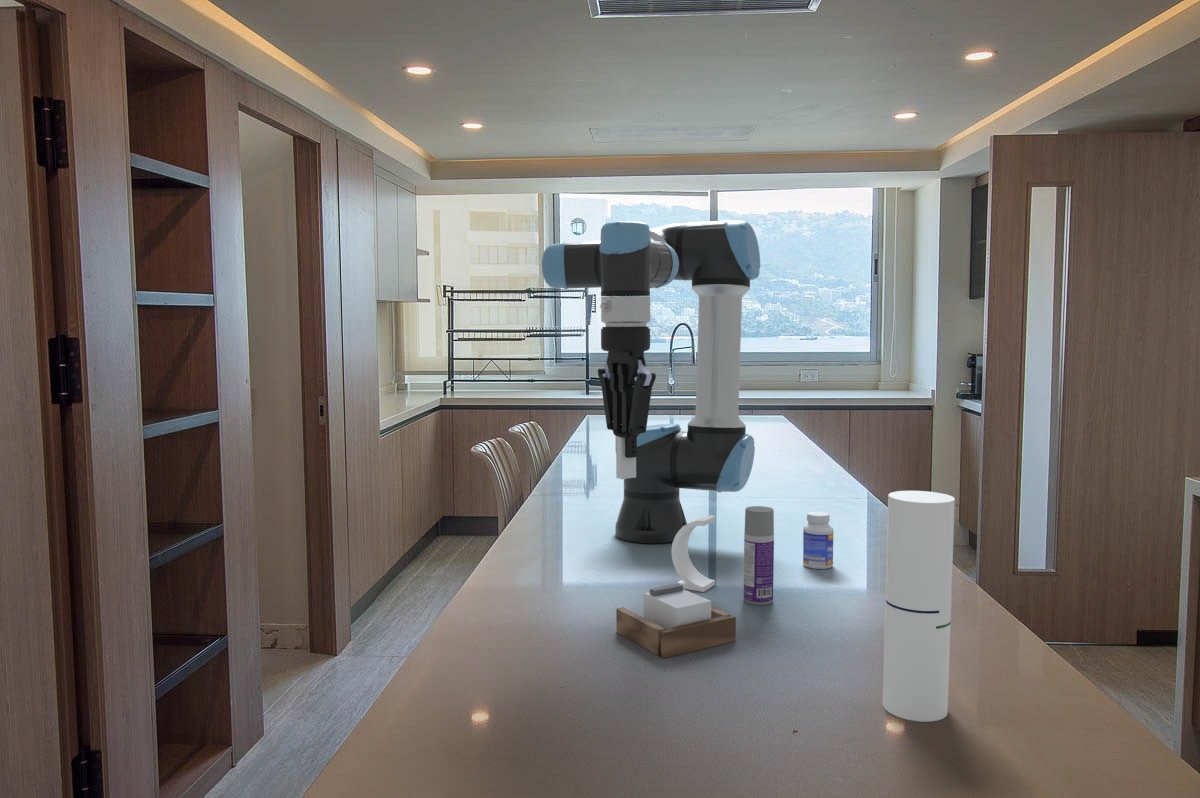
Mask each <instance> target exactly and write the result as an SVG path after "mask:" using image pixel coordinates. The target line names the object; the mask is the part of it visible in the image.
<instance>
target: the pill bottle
mask: <svg viewBox="0 0 1200 798" xmlns="http://www.w3.org/2000/svg"><path fill="white" fill-rule="evenodd" d="M806 520H807V523H806V524H805V525H804V526H803V528H802V529H803V530H802V531H803V533H802V535H803V536H802V539H803V541H802V542H803V543H802V544H803V545H802V547H803V548H802V549H803V550H802V565H803V566H804V567H807V568H810V569H813V570H814V569H815V570H827V569H830V568H832V567H833V566H834V528H833V526H832V525H831V524H829V523H830V520H831V519H830V513H828V512H825V511H809V512H807V514H806Z"/></svg>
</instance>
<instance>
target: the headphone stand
mask: <svg viewBox="0 0 1200 798" xmlns="http://www.w3.org/2000/svg"><path fill="white" fill-rule="evenodd" d="M713 522H716V515H705V516H703V517H699V518H696V519H695V520H693V521H690V522H688V523H687V524H686V525H685V526H683V527H682V528H681V529H680V530H679V531H678V532H677V534H676V536H675V538H674V540H673V542H672V545H671V560H672V564H673V567H674V570H675V571H676V573H677V575H678V577H679V578H681V580H679V581H677V582H676V584H677V583H678V584H681V585H683V589H684V590H688V591H694V592H695V591H696V592H701V593H702V592H703V593H704V592H707V591H708V590H709V589H711V588H713V587H714V586H715V585H716V580H715V579H711V578H708V577H706V576H705V575H703V574H702V573H700V571H698V570H697V569H696V567H695V565H694V564H693V563H692V561H691V558H690V555H689V549H688V548H689V547H688V545H689V539H690V536H691V534H692V533H693V531H694V529H695V528H696V527H700V526H701V527H702V526H703V527H705V526H707V525H710V524H711V523H713Z"/></svg>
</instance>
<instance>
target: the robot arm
mask: <svg viewBox="0 0 1200 798" xmlns="http://www.w3.org/2000/svg"><path fill="white" fill-rule="evenodd" d="M758 242H759V241H758V239H757V235H756V232H755V230H754V228H753V226H752V225H751V224H750V223H749V222H747V221H745V220H736V219H735V220H734V219H733V220H732V219H723V220H711V221H710V220H708V221H695V222H693V221H692V222H676V223H670V224H667V225H662V226H657V227H653V228H650V226H649V224H648V223H646V222H644V221H643V222H642V221H630V220H627V221H611V222H606V223H604V224H603V225H602V227H601V228H600V239H599V240H591V241H590V240H589V241H582V242H561V243H553V244H550V245H547V247H546V248H545V249H544V251H543V255H542V258H541V271H542V272H541V273H542V277H543V279H544V281H545V283H546V284H547V285H548V286H549V287H551V288H552V289H564V290H568V289H590V288H591V289H592V288H597V289H598V288H600V290H601V291H600V301H601V302H600V305H599V307H600V322H602V323H603V324H605V326H602V327H601V328H600V348H601V350H603V351H604V352H607V358H606V366H605V367H604V368H598V369H597V376H598V379H599V381H600V386H601V393H602V401H603V402H602V403H603V408H604V415H605V423H606V428H607V430H611V431H612V433H613V435H614V436H615V462H616V464H615V465H616V466H615V468H616V469H615V470H616V472H615V473H616V475H615V477H616V478H617V479H620V480H623V500H622V503H621V506H620V509H619V512H618V515H617V519H616V522H615V530H614V531H615V536H616V537H617V538H618V539H620V540H623V541H626V542H632V543H638V544H665V543H666V544H668V543H673V540H674V538H675V536H676V534H677V532H678V531H679V530H680V529H681V528H682V527H683V526H685V525H686V524H688V523H687V520H686V516H685V512H684V510H683V507H682V504H681V503H682V502H681V500H680V489H686V490H699V491H712V492H717V493H722V492H723V493H725V492H726V493H731V492H732V493H736V492H739V491H741V490H742V489H744V488H745V486H746V484H748V480H749V478H750V475H751V472H752V469H753V465H754V459H755V453H756V450H755V449H756V448H755V438H754V436H752V435H750V434H749V433H746V432H747V431H746V429H747V428H746V427H747V425H746V424H745V422H743V420H742V419H741V418H740V416H739V403H740V373H741V372H740V370H741V339H742V335H741V334H742V309H743V307H742V306H743V305H742V304H743V301H742V300H743V297H744V295H746V293H748V292H749V291H750V288H751V281H752V280H753V281H754V280H755V279H757V278H758V277H759V276H760V269H761V255H760V254H761V253H760V246H759V243H758ZM673 281H691V290H692V291H694V293H695V294H696V295H697V297H698V313H697V314H698V322H697V325H698V326H697V352H696V353H697V354H696V355H697V357H696V358H697V359H696V360H697V361H696V388H695V389H696V390H695V391H696V392H695V415H694V416H693V418H692V419H691V420H690V421H689V422H688V423H687V431H681V430H682V427H681V425H680V424H679V423H661V424H652V425H648V419H649V411H650V404H651V396H652V390H653V386H654V383H655V381H656V378H657V374H656V372H654V371H653V372H652V371H651V372H650V371H649V370H648V369H647V368H646V367H647V365H646V364H647V363H646V360H645V354H644V353H645V352H646V351H650V349H651V328H650V326H647V323H650V322H651V291H650V290H651V288H655V289H658V288H661V287H662V288H663V287H664V286H667V285H669V284H670V283H671V282H673Z"/></svg>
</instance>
